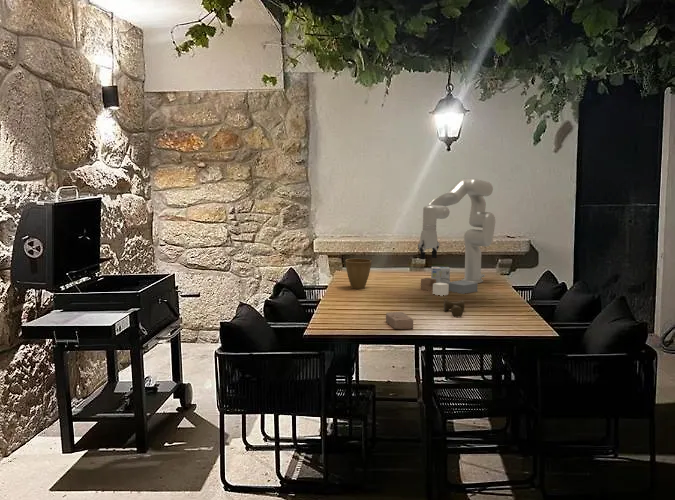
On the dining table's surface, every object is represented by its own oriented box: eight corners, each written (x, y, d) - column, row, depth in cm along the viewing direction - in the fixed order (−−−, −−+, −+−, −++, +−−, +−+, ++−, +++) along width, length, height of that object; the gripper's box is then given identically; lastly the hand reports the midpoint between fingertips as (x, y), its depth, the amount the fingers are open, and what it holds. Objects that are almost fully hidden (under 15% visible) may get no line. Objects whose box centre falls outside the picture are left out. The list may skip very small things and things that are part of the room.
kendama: (446, 318, 296) (442, 307, 316) (467, 319, 296) (462, 308, 316) (447, 305, 296) (442, 295, 315) (468, 306, 295) (462, 296, 315)
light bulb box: (449, 284, 379) (449, 266, 378) (449, 286, 372) (450, 268, 371) (430, 284, 380) (431, 266, 379) (431, 286, 373) (431, 268, 372)
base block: (460, 288, 368) (460, 280, 367) (477, 291, 358) (477, 283, 358) (446, 291, 360) (446, 282, 360) (463, 294, 351) (463, 285, 350)
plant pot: (341, 289, 364) (341, 261, 362) (350, 284, 377) (350, 257, 375) (366, 291, 358) (366, 262, 356) (374, 286, 372) (375, 259, 370)
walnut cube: (427, 288, 368) (428, 277, 367) (435, 289, 363) (436, 279, 362) (420, 289, 364) (420, 279, 363) (428, 291, 359) (429, 280, 358)
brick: (384, 321, 288) (385, 311, 288) (402, 320, 290) (403, 310, 289) (395, 330, 272) (395, 320, 271) (414, 330, 274) (414, 319, 273)
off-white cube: (439, 293, 353) (440, 282, 352) (448, 294, 349) (448, 283, 348) (432, 294, 349) (432, 283, 349) (441, 296, 345) (441, 285, 344)
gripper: (434, 227, 367) (433, 256, 369) (413, 228, 356) (412, 258, 358) (444, 227, 362) (443, 258, 364) (424, 229, 351) (423, 260, 352)
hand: (428, 258), depth 361 cm, fingers open, 9 cm apart
